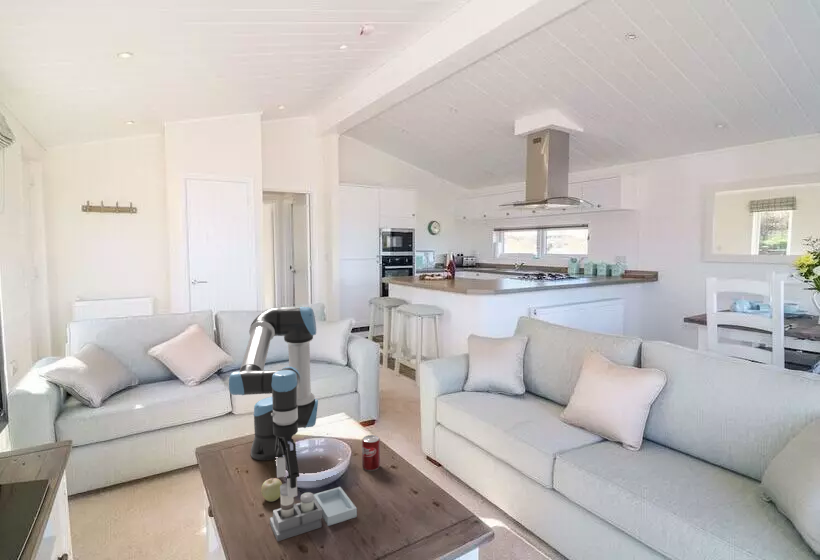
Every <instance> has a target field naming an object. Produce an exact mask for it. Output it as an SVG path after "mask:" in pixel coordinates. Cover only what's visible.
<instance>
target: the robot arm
mask: <svg viewBox="0 0 820 560" xmlns="http://www.w3.org/2000/svg"><path fill="white" fill-rule="evenodd" d="M248 332H249V335H250V336H249V340H248V343H247V346H246V349H245V352H244V356H243V357H242V358H243V359H242V362H241V365H240V368H239V370H237V371H233V372H231V373H230V375H229V378H228V391H229V393H230V394H231V395H233V396H234V395H235V396H249V395H250V396H251V395H263V394H265V395H271V394H272V396H269V397H265V398H262V399H260V400H258V401H257V402H256V403H255V405H254V406H253V425H254V437H253V441H252V445H251V448H250V456H251V458H252V459H254V460H256V461H273V460H276V478H277V479H279V478H284V477H285V478H286V479H287V481H286V483H288V498H291V497H294V498H295V497H297V496H298V478H299V477H300V473H299V472H300V471H299V465H298V464H299V463H298V457H297V449H296V447H297V446H296V445H297V444H296V441H295V442H294V438H293V436H295V435H296V434H297V433H298V431H299V429H301V428H304V429H306V428H312V427H314V426H315V425H316V423H317V415H318V408H319V407H318V406H319V405H318V404H319V399H317V398H315V397H316V396H315V395H314V393H313V392H312V388H311V387H312V386H311V385H312V383H311V382H312V381H311V353H310V352H311V351H310V342H311V341H313V340H314V336H315V335H316V334H317V324H316V316H315V312H314V310H313V308H312V307H309V306H307V307H306V306H287V307H286V306H284V307H282V306H281V307H280V306H276V307H271V308H269V309H266V310H264V311H262V312H261V313H260V314H259V315H257V316H256V317H255V318H254V319H253V321H252V322H251V324H250V327H249V331H248ZM274 337H283V339H284V342H285V343H287V346H288V366H285V367H282V369H272V370H268V369H267V370H265V365H266V360H267V356H268V353H269V350H270V349H269V348H270V343H271V340H272V339H274ZM275 457H278V458H276V459H275ZM286 469H287V472H286ZM286 473H287V474H286Z"/></svg>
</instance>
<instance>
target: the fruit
mask: <svg viewBox="0 0 820 560" xmlns="http://www.w3.org/2000/svg"><path fill="white" fill-rule="evenodd" d="M282 484H283V483H282V481H281V480H280V479H279V478H277V477H275V478H274V477H271V478H269V479H266V480H265V481H264V482H263V483H262V485H261V488H260V490H261V492H260V493H261V495H262V497H263V499H264V500H266V501H267V502H271V503H272V502H275V501H277V500H278V499H280V498H281V495H280V486H281V485H282Z"/></svg>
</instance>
